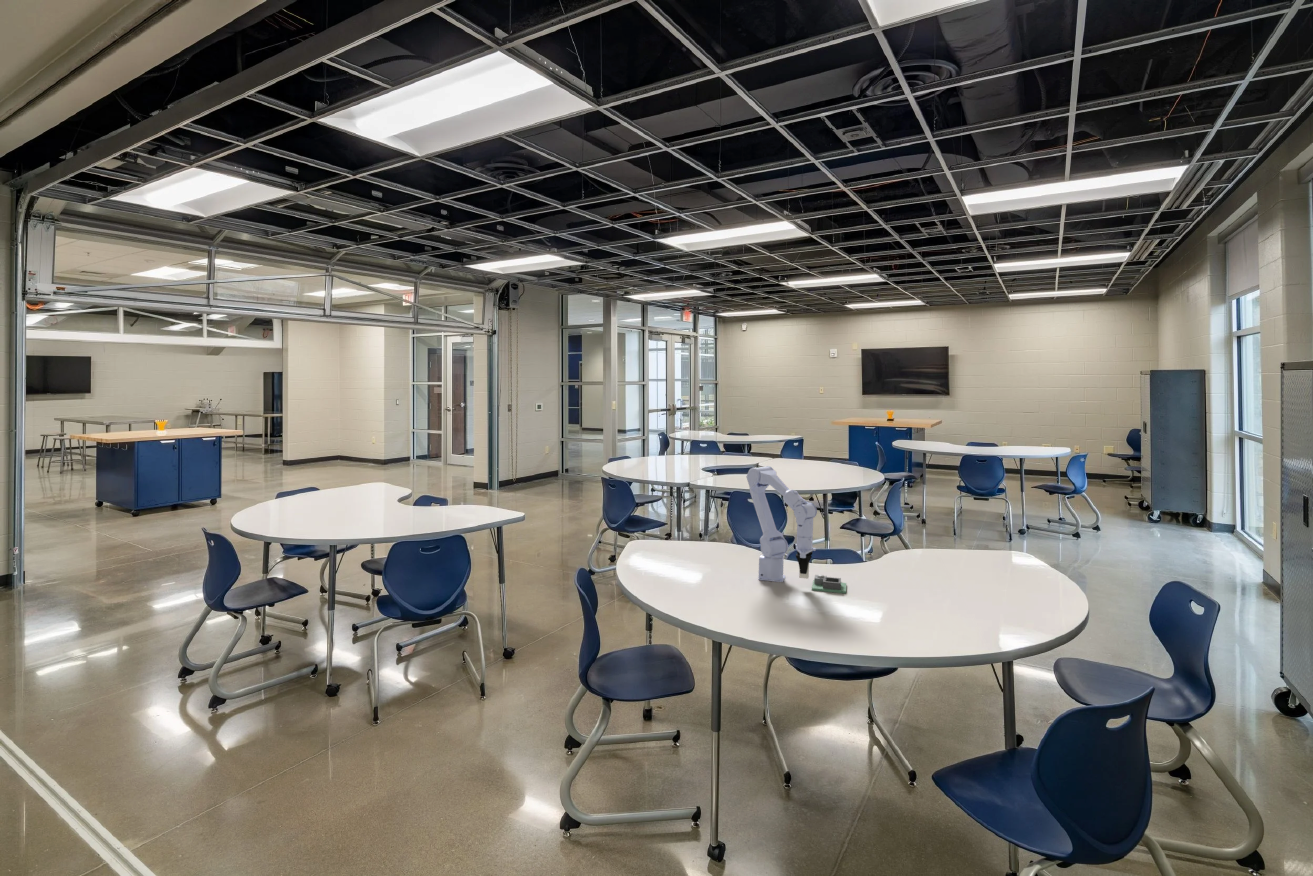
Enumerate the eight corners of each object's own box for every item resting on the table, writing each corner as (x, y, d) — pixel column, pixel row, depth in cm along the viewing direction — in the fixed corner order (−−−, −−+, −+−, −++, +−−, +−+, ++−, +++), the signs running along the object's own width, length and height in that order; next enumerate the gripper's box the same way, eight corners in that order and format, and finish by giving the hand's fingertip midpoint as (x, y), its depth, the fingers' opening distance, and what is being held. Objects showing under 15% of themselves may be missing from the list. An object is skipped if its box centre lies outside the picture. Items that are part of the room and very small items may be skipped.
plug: (799, 577, 227) (799, 559, 226) (799, 575, 230) (800, 557, 229) (808, 578, 226) (808, 560, 225) (808, 576, 229) (809, 558, 228)
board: (811, 590, 226) (812, 580, 226) (813, 581, 236) (813, 572, 235) (845, 593, 223) (846, 583, 222) (846, 585, 232) (846, 575, 232)
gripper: (814, 541, 218) (813, 579, 220) (817, 532, 232) (815, 567, 233) (794, 540, 220) (793, 577, 222) (797, 530, 234) (796, 565, 235)
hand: (803, 572), depth 228 cm, fingers closed on plug, 3 cm apart
